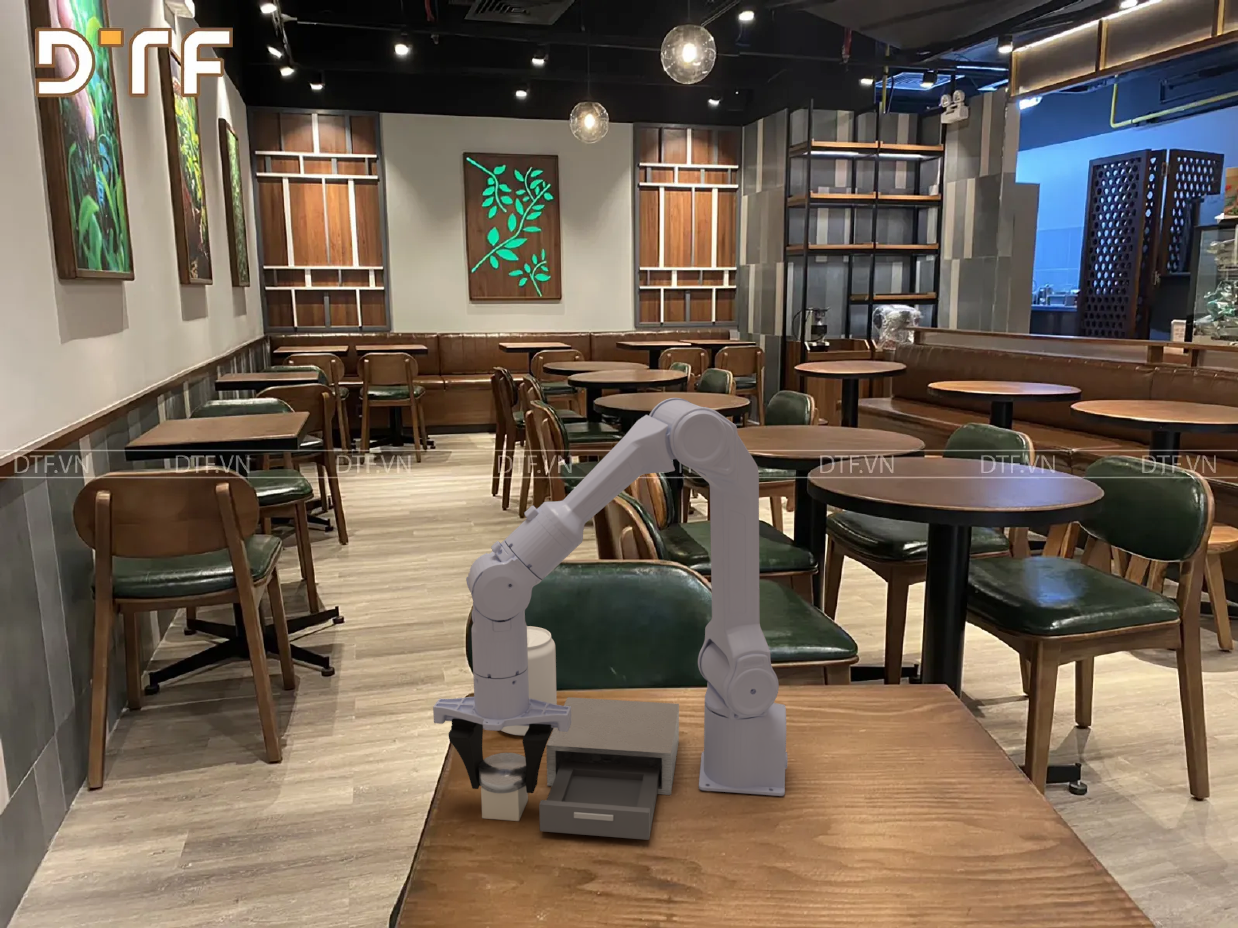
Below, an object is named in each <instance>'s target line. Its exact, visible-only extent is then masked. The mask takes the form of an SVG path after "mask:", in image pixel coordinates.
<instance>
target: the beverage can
mask: <svg viewBox="0 0 1238 928" xmlns="http://www.w3.org/2000/svg"><path fill="white" fill-rule="evenodd" d="M527 647H528V680H529V698H532V699H536V700H540V701H544V702H548V703H552V704H556V705H558V702H557V667H556V666H557V663H556V662H557V659H556V658H557V657H556V655H557V654H556V643H555V641H554V639H553V638H552V633H551V632H550V631H549V630H547V629H546V628H542V627H540V626H539V627H538V626H531V625H530V626H528V625H527ZM528 729H529V726H518V725H516V726H506V727H503V729H502V730H500V731H501V732H504V733H506V734H510V735H514V736H523V737H524V736H525V734H526V732H527V731H528Z"/></svg>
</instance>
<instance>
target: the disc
mask: <svg viewBox="0 0 1238 928" xmlns="http://www.w3.org/2000/svg"><path fill="white" fill-rule="evenodd" d="M479 784H480V786H479V787H482V788H483V789H485V790H486V791H489V792H493V793H510V792H514V791H517V790H519V789H521V788H523V787H524V786H526V759H525V755H523V754H519V753H516V752H500V753H494V754H491V755H489V756H487V757H485V758H483V761H482V762H481V763H480V764H479Z"/></svg>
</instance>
